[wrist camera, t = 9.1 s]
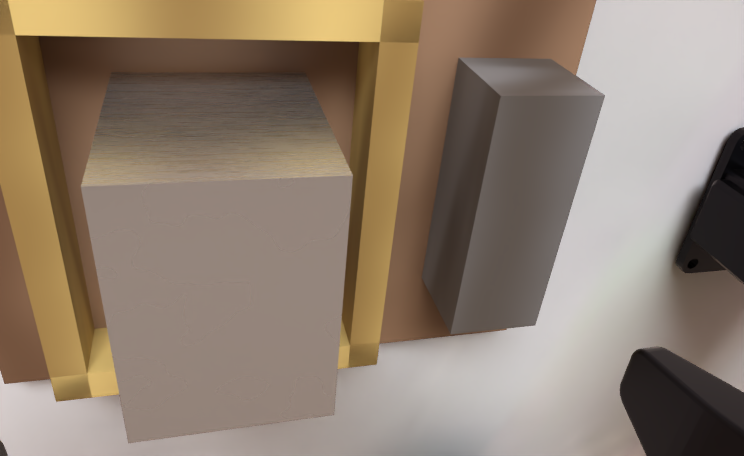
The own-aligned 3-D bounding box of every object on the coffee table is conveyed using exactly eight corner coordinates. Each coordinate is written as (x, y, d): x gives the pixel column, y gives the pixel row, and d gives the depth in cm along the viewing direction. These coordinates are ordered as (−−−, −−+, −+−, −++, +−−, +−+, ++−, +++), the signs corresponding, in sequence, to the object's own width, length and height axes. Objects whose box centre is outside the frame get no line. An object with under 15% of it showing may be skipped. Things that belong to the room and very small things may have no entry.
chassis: (590, -53, 18) (676, -23, 15) (496, 313, 26) (540, 385, 23) (-126, -99, 14) (-220, -70, 11) (11, 362, 21) (-19, 460, 18)
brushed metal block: (305, 72, 17) (352, 175, 12) (298, 275, 21) (333, 414, 16) (111, 72, 16) (80, 186, 11) (141, 288, 20) (128, 443, 15)
